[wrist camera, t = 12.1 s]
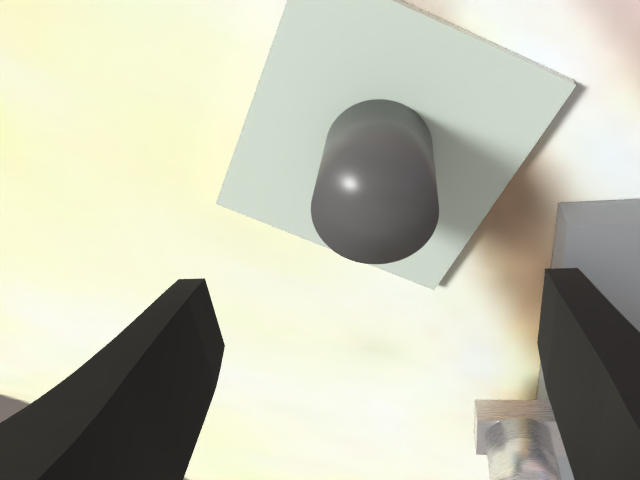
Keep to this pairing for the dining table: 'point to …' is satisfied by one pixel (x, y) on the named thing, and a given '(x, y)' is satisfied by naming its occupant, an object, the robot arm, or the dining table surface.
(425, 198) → the lid
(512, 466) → the bolt
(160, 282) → the dining table surface
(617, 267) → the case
